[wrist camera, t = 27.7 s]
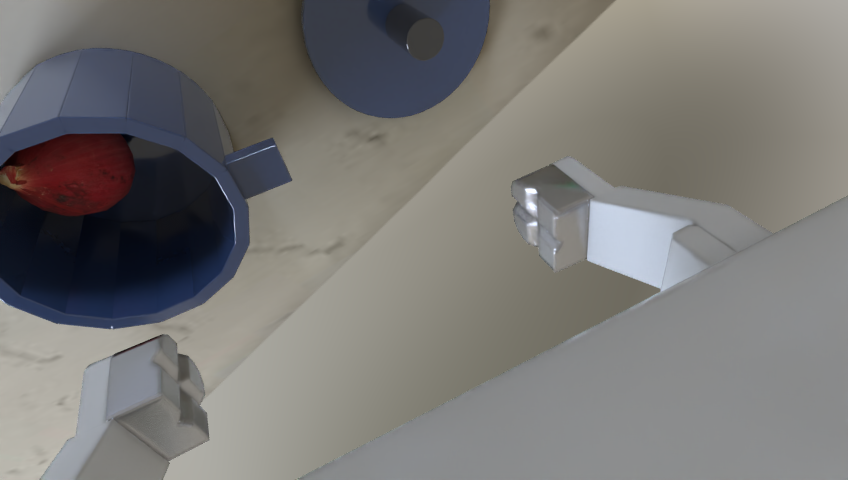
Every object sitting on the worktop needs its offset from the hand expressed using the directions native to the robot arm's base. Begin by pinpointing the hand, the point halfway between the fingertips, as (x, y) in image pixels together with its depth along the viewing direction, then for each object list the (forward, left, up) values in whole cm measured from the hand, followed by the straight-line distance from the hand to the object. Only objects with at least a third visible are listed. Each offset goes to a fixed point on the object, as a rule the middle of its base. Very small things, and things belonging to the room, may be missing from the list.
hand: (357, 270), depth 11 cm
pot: (+6, -10, -27) cm, 29 cm away
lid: (+4, +10, -26) cm, 28 cm away
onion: (+6, -10, -25) cm, 28 cm away
